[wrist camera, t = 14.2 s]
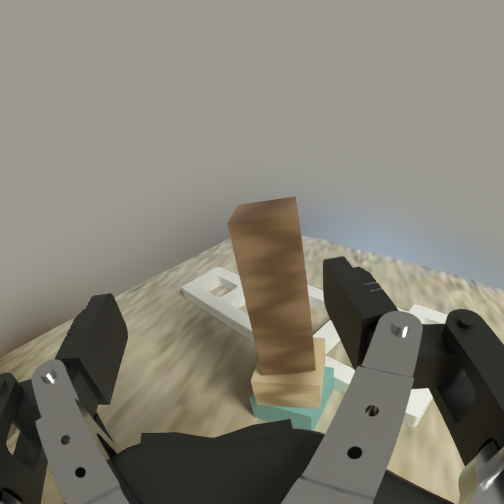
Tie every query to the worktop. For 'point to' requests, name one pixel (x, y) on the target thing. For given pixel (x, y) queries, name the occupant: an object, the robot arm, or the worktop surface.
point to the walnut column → (274, 284)
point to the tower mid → (292, 384)
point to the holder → (240, 322)
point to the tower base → (298, 416)
